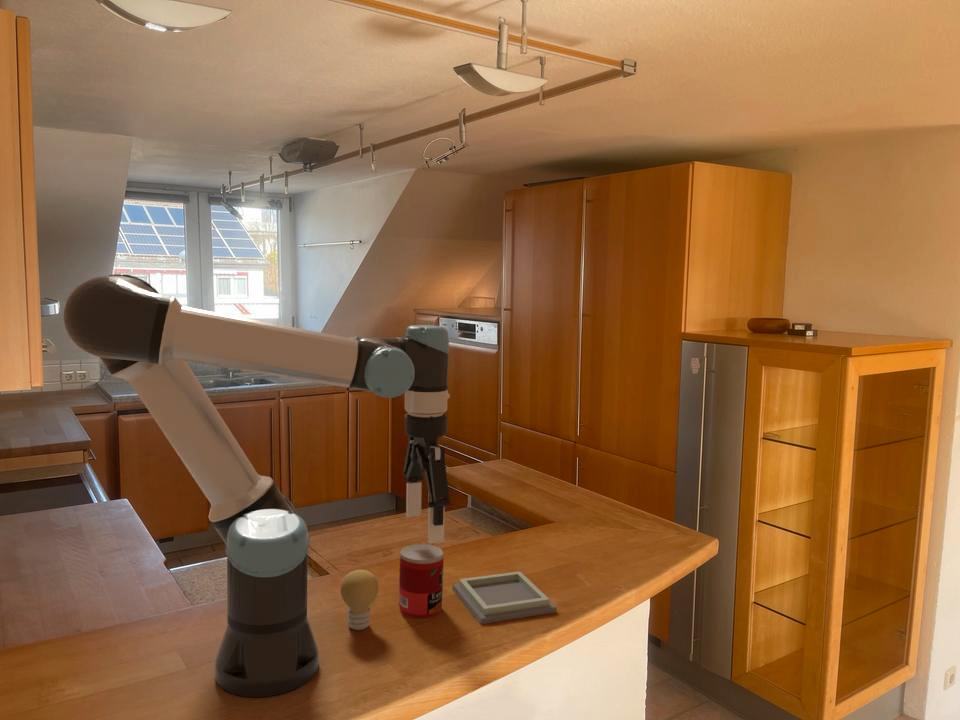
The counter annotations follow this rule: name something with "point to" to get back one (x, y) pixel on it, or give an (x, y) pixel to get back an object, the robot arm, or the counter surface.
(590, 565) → the counter surface
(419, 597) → the canned food
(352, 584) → the light bulb
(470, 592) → the coaster
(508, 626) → the counter surface
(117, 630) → the counter surface
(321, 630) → the counter surface
